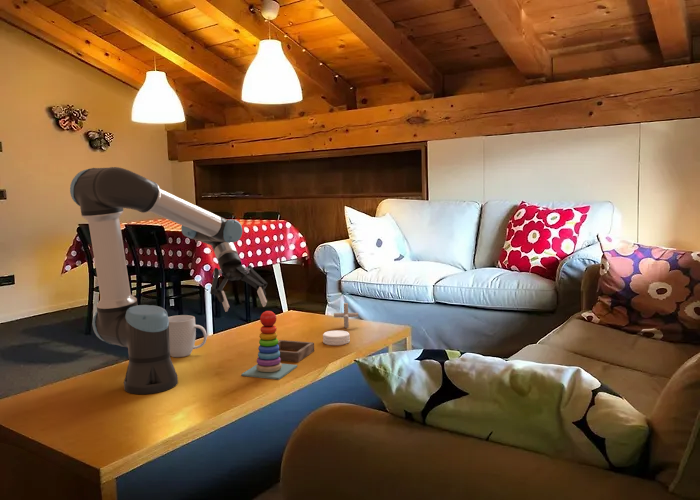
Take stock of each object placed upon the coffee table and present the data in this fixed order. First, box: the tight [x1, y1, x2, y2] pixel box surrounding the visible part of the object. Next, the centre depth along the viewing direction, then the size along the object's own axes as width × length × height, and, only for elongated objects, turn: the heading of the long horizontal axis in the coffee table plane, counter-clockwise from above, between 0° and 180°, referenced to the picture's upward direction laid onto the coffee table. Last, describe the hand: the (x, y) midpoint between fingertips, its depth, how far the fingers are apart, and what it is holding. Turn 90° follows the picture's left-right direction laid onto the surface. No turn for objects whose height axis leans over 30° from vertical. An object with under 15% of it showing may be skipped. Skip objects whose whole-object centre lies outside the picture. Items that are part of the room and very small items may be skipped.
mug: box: [168, 314, 208, 358], centre depth 204 cm, size 15×11×13 cm
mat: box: [241, 362, 298, 380], centre depth 184 cm, size 13×13×1 cm
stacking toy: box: [256, 310, 283, 372], centre depth 183 cm, size 8×8×19 cm
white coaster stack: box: [322, 329, 351, 346], centre depth 217 cm, size 10×10×4 cm
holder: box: [278, 339, 315, 363], centre depth 201 cm, size 13×13×3 cm
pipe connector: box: [333, 302, 359, 329], centre depth 238 cm, size 10×10×10 cm
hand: (246, 306), depth 194 cm, fingers open, 13 cm apart
